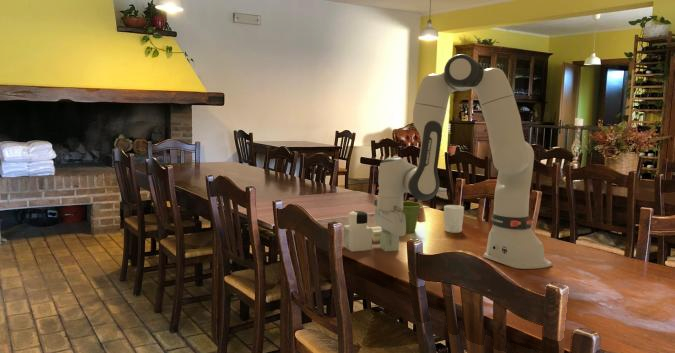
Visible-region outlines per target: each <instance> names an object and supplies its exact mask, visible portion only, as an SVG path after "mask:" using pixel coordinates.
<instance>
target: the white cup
mask: <svg viewBox="0 0 675 353" xmlns="http://www.w3.org/2000/svg"><path fill="white" fill-rule="evenodd" d="M464 211H465V206H464V205H463V206H462V205H459V204H458V205H457V204H446V205H444V206H443V214H444V215H443V218H444V219H443V220H444V221H443V222H444V231H445V232H447V233H455V234H457V233H462V230H463V222H464Z"/></svg>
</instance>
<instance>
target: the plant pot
mask: <svg viewBox="0 0 675 353" xmlns="http://www.w3.org/2000/svg"><path fill="white" fill-rule="evenodd" d="M422 205H423V204H422V203H421V202H417V201H405V200H403V210H402V212H403V213H404V215H405V219H406V234H407V233H408V234H411V233H414V232H416V227H417V222H418V217H419V213H420V209H421V206H422Z"/></svg>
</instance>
